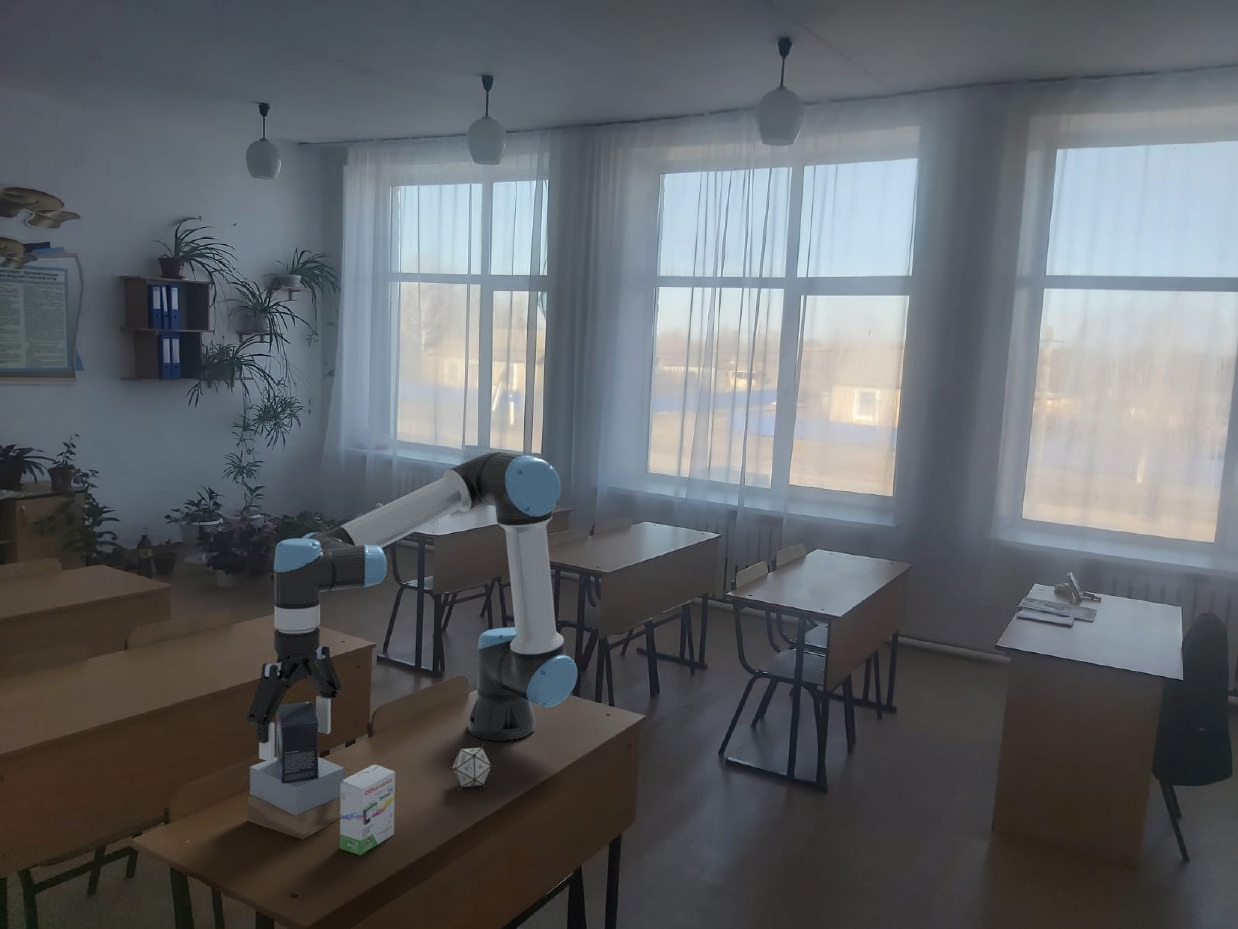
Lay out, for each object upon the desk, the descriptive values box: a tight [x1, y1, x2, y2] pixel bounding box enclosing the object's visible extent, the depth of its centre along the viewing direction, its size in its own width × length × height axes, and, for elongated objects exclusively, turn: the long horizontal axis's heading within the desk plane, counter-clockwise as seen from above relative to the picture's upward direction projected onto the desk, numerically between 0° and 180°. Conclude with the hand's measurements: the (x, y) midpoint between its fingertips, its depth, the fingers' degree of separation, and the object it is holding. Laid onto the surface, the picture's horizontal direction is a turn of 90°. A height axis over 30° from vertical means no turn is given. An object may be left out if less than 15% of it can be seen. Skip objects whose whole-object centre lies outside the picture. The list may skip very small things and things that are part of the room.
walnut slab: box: [247, 794, 340, 840], centre depth 160 cm, size 10×13×5 cm
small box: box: [275, 700, 319, 784], centre depth 158 cm, size 11×6×10 cm, turn 25°
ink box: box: [339, 764, 396, 856], centre depth 152 cm, size 8×5×12 cm, turn 153°
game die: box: [447, 743, 496, 792], centre depth 175 cm, size 9×8×10 cm
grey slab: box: [249, 756, 345, 816], centre depth 159 cm, size 10×13×5 cm
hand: (296, 745), depth 158 cm, fingers open, 13 cm apart
